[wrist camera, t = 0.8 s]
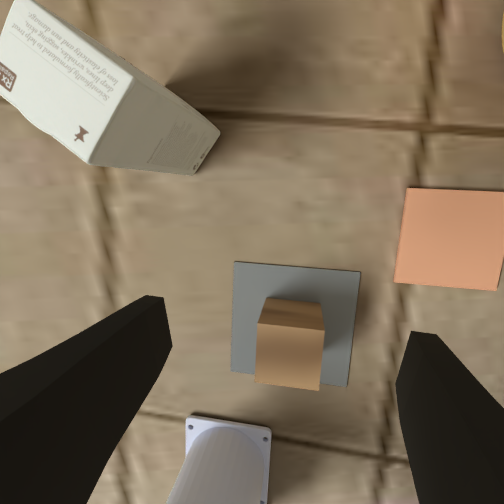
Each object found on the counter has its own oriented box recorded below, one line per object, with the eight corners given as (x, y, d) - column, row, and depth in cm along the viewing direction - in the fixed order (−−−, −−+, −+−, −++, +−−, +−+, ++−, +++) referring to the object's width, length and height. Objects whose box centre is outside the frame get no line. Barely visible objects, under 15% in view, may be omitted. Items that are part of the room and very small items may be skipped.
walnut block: (315, 352, 26) (318, 390, 21) (263, 346, 26) (254, 381, 21) (320, 303, 25) (324, 330, 20) (266, 297, 25) (257, 323, 20)
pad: (493, 289, 22) (496, 290, 22) (393, 281, 23) (394, 282, 23) (514, 192, 21) (517, 192, 21) (406, 188, 22) (408, 188, 22)
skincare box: (223, 131, 23) (144, 71, 12) (192, 179, 24) (90, 170, 13) (160, 82, 23) (17, -26, 12) (131, 133, 25) (-26, 81, 13)
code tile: (346, 386, 26) (346, 387, 26) (230, 370, 27) (230, 371, 27) (360, 272, 24) (360, 272, 24) (234, 261, 25) (233, 262, 25)
